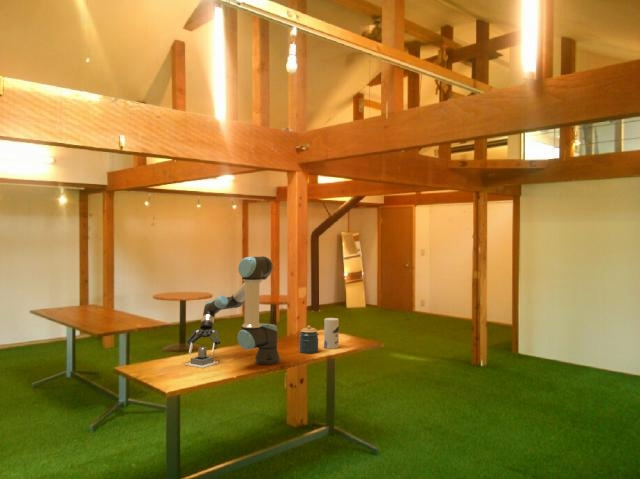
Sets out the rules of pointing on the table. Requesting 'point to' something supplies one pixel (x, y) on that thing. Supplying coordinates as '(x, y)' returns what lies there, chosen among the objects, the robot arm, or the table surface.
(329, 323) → the container
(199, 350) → the glossy bronze cylinder
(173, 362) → the table surface
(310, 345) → the canister
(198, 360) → the square socket
